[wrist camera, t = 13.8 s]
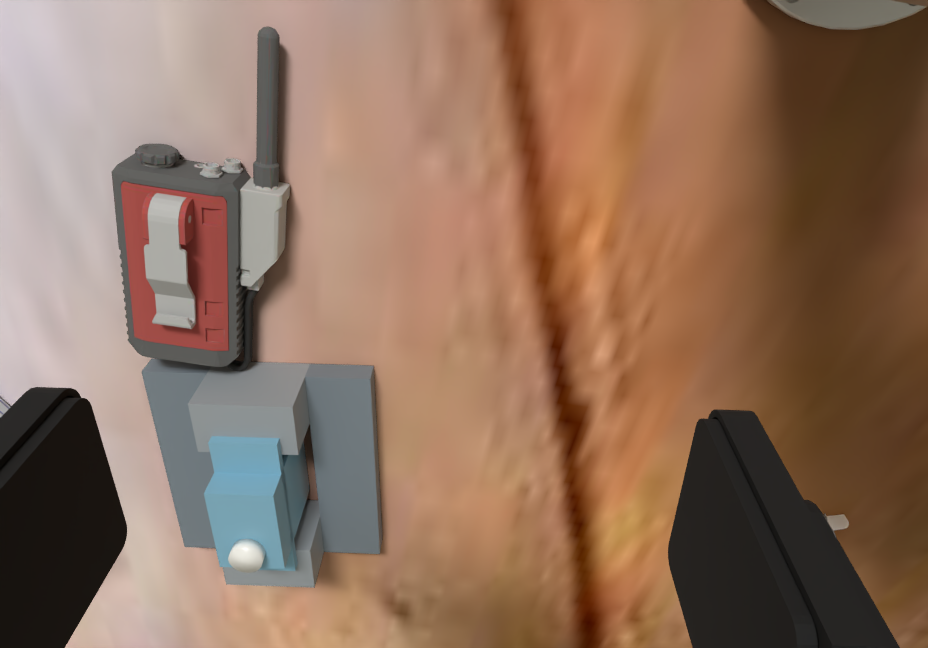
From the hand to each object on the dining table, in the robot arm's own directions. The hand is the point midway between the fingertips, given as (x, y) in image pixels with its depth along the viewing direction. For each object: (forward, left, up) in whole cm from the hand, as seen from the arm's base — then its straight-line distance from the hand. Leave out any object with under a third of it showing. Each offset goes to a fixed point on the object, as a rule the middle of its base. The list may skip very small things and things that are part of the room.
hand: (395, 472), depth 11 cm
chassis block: (+12, +24, -28) cm, 39 cm away
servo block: (+12, +24, -28) cm, 39 cm away
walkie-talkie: (+14, +6, -29) cm, 33 cm away
